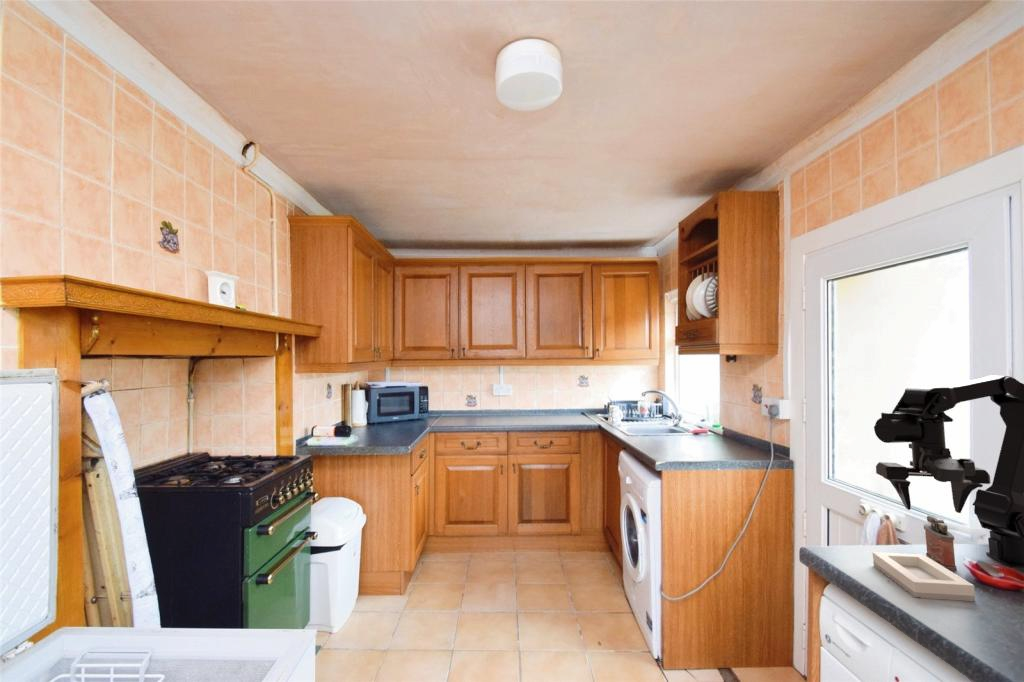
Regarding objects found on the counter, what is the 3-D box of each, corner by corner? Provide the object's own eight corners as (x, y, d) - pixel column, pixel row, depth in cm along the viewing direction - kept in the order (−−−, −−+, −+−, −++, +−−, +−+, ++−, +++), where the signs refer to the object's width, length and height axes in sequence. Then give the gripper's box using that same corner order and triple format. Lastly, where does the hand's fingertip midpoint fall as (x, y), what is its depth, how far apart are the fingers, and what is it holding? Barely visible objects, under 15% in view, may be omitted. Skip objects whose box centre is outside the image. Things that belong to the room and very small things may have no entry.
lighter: (961, 572, 97) (957, 526, 98) (942, 570, 98) (938, 524, 99) (939, 556, 105) (936, 513, 105) (922, 555, 106) (918, 512, 106)
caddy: (924, 568, 100) (923, 554, 100) (975, 601, 86) (973, 585, 86) (873, 565, 102) (872, 552, 102) (915, 597, 88) (913, 581, 88)
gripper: (897, 446, 97) (902, 519, 96) (1007, 449, 91) (1013, 527, 90) (872, 438, 107) (877, 503, 106) (969, 440, 102) (974, 509, 101)
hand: (932, 510), depth 101 cm, fingers open, 9 cm apart
